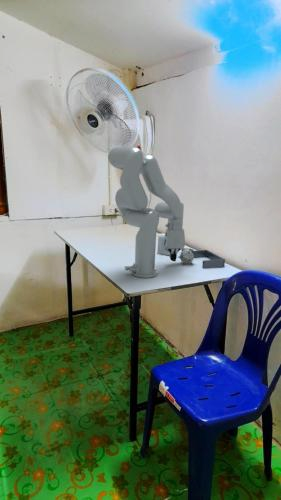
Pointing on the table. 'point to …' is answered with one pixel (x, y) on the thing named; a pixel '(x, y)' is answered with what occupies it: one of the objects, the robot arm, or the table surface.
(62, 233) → the table surface
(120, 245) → the table surface
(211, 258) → the chassis bay
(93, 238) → the table surface
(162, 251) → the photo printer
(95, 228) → the table surface
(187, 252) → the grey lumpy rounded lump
